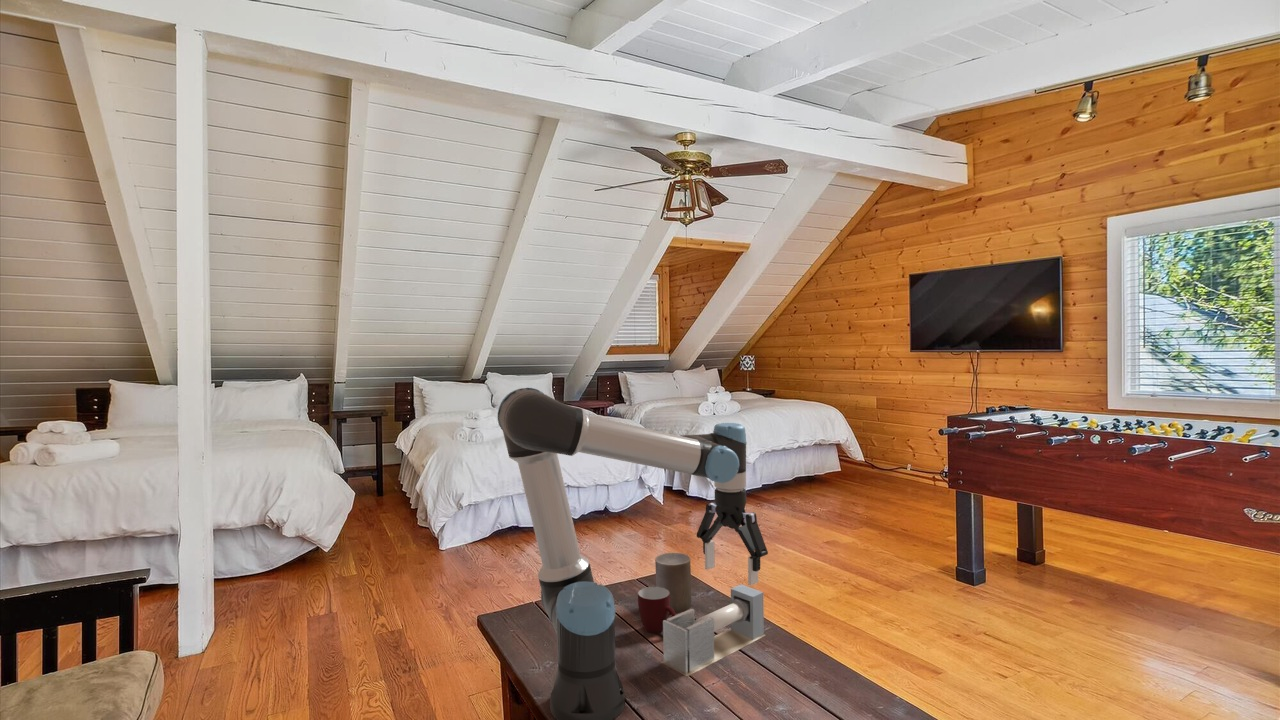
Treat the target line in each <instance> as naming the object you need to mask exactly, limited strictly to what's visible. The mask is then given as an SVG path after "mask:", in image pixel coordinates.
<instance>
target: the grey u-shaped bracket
mask: <svg viewBox="0 0 1280 720" xmlns="http://www.w3.org/2000/svg"><path fill="white" fill-rule="evenodd" d="M695 611H696V610H695V609H694V608H690V609H688V610H687V611H684V612H680V613H678V614H676V615H675V616H673V617H671V616H670V617H668V619H667V621H666V620H664V621H663V631H662V633H663V634H662V639H663V640H662V642H663V643H662V645H663V648H662V650H663V661H664V663H665V664H667V665H669V666H671V667H672V668H674V669H676V670H678V671H680V672H682V673H684V674H685V675H686V674H688V672H689V673H690V672H692V671H694V670H696V669H698V668H700V667H702V666H704V665H706V664H707V663H709V662H711V661H713V660H714V636H715V632H714V618H712V617H709V618H707V619H704V620H702V621H700V622H698V623H696V624H693V623H694V621H695V620H696V617H695ZM665 664H664V665H665ZM667 665H666V666H667ZM672 668H671V669H672ZM674 669H673V670H674ZM676 670H675V671H676ZM678 671H677V672H678ZM685 675H684V676H685Z"/></svg>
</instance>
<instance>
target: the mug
mask: <svg viewBox="0 0 1280 720" xmlns="http://www.w3.org/2000/svg"><path fill="white" fill-rule="evenodd" d="M637 605H638V610H639V615H640V621H641V625H642V626H643V628H644V630H645V632H647V633H650V634H660V633H663V621H664V620H666V621H667V619H668V618H669V615H668V614H669V613H670V614H671V615H670V618H671V617H673V616H675V615H677V613H675V611H674V609H673V608H671V607H670V592H669V591H668V590H667V589H665V588H662V587H656V586H648V587H647V586H646V587H643V588H641V589H639V590H638V592H637Z"/></svg>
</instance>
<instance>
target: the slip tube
mask: <svg viewBox="0 0 1280 720" xmlns="http://www.w3.org/2000/svg"><path fill="white" fill-rule="evenodd" d="M748 615H750V601H747V600H745V599H741V600H739V599H735V600H732V601H731V600H730V601H729V603H728V605H726V606H723V607H721V608H719V609H717V610H714V611H712V612H710V613H708V614H705V615H703V616H701V617H698V618H695V621H694V623H693V624H696V623H698V622H700V621H702V620H704V619H707V618H709V617H712V618H714V633H715V632H717V631H718V630H721V629H723V628H725V627H727V626H729V625H731V624H732V623H734V622H742V621H744V620H745V619H746V618H747V616H748Z"/></svg>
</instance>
